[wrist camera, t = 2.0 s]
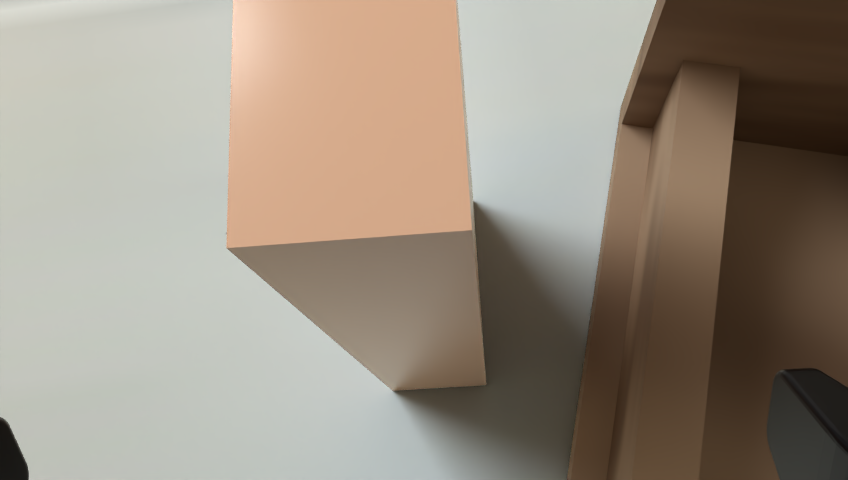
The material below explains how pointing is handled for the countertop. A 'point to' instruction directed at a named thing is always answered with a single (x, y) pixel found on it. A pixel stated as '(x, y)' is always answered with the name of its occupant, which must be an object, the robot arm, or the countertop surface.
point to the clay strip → (360, 179)
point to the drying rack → (718, 240)
